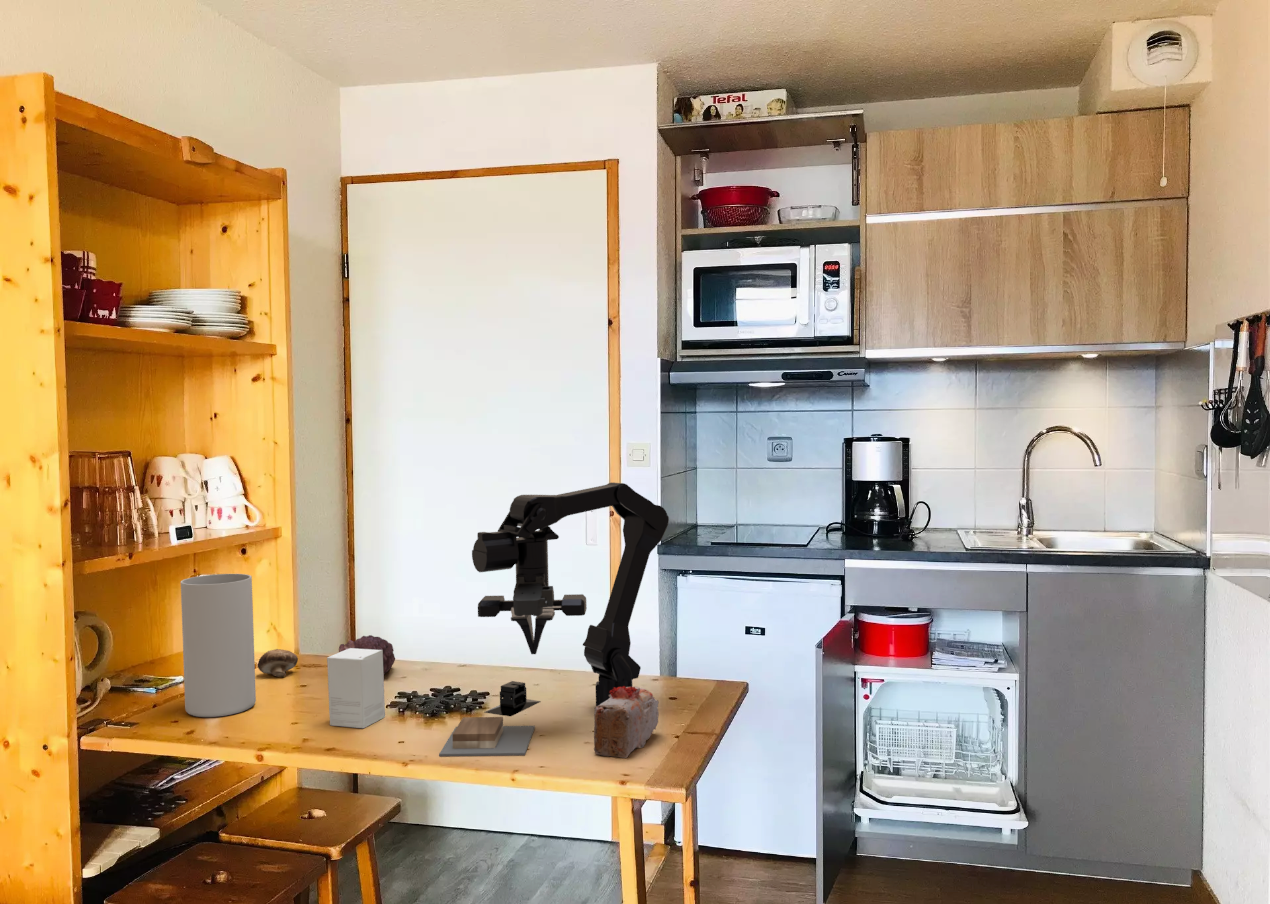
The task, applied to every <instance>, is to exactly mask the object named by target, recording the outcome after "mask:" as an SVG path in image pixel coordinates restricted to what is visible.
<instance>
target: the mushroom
mask: <svg viewBox="0 0 1270 904" xmlns="http://www.w3.org/2000/svg"><path fill="white" fill-rule="evenodd" d="M298 661H299V658H298V656H297V655H296V654H295V653H294V652H293V651H291V650H287V649H278V648H275V649H271V650H268V651H266V652H265V653H263V654H262V655H261V657H260V658H259V659H258V663H257V669H258V670H259V671H260V672H261V673H263V674H267V675H269V674H271V675H272V676H275V677H277V678H283V677H286V676H287V675H286V672H288V671H289V670H290V671H291V670H292V669H294V668H295V667H296V665H297V663H298Z"/></svg>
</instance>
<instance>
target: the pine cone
mask: <svg viewBox="0 0 1270 904" xmlns="http://www.w3.org/2000/svg"><path fill="white" fill-rule="evenodd" d="M349 648H356V649H372V650H383V674H384V675H385V674H386V673H388V672H389V670H390V669H392V667H393V665H394V663H395V661H396V658H395V653H394V647H393V644H392V643H390V642H388V640H386V639H384V638H382V637H380V636H374V635H372V634H371V635H367V636H366V635H363V636H361V637H360V638H357V639H355V641H353V640H351V639H349V640H348V641H347V642H346V643H345V644H344V643H342V644H339V648H338V653H339V652H341V651H344V650H346V649H349Z"/></svg>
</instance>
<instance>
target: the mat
mask: <svg viewBox="0 0 1270 904" xmlns="http://www.w3.org/2000/svg"><path fill="white" fill-rule="evenodd" d="M456 728H457V726H455V728H454V729H453V731H452V732H451V734H450V736H449V737H448V738H447V740H446V741H445V744H444V745H443V747H442V749H441V750H440V752H439V754H438V756H439V757H491V756H494V757H495V756H496V757H497V756H499V757H500V756H505V757H506V756H508V757H509V756H525V755H526V753H527V751H528V748H529V746H530V745H529V744H530V742H531V739H532V738H533V737H532V736H533V734H534V731H535V728H536V725H503V732H502V734H501V736H500V739H499V741H498V743H497V745H496V747H495V748H453V735H452V734H453V733H454V731H455V729H456Z"/></svg>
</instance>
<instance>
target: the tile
mask: <svg viewBox="0 0 1270 904" xmlns="http://www.w3.org/2000/svg"><path fill="white" fill-rule="evenodd" d="M503 726H504V717H503V716H479V717H478V716H472V717H471V716H470V717H469V716H465V717H462V718H461V720H460V722H459V723H458V725H457V726H456V727H457V728H456V729H455V728H454V729H455V731H454V730H453V731H454V733H453V734H452V733H451V734H452V735H453V748H495V747H496V745H497V743H498V741H499V739H500V736H501V734H502V732H503Z"/></svg>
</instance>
